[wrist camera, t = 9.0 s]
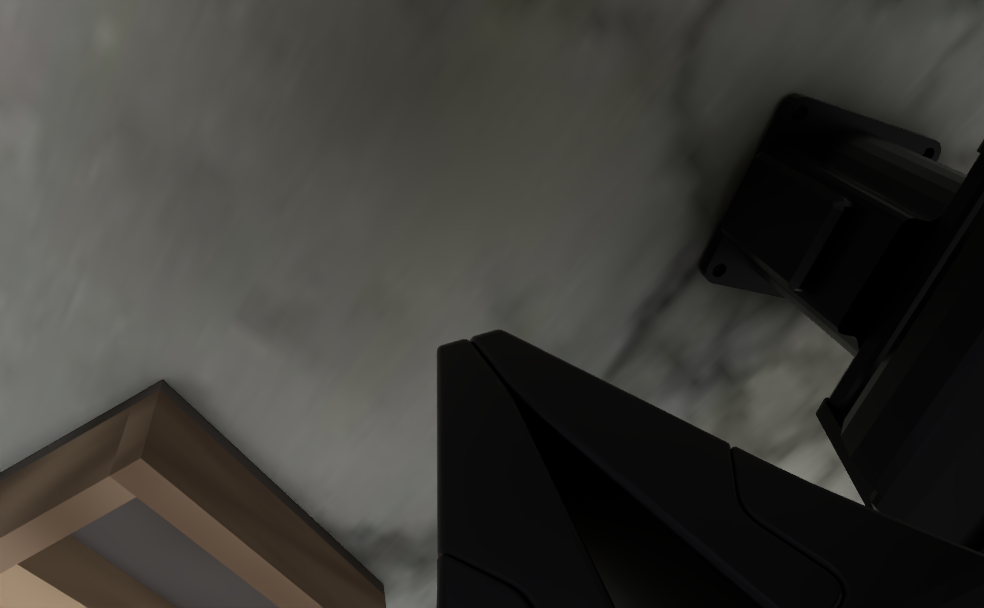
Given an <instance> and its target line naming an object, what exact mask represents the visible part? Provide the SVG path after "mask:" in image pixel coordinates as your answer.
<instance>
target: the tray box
mask: <svg viewBox="0 0 984 608" xmlns="http://www.w3.org/2000/svg"><path fill="white" fill-rule="evenodd" d="M0 608H386V602H385V594H384V585H383V584H382V583H381V582H380V581H379V580H378V579H376V578H375V577H374V576H373V575H372V574H371V573H370V572H369V571H368V570H367V569H366V568H365V567H364V566H362V565H361V564H360V563H359V562H358V561H357V560H356V559H355V558H354V557H353V556H352V555H351V554H350V553H348V552H347V551H346V550H345V549H344V548H343V547H342V546H341V545H340V544H339V543H338V542H337V541H336V540H334V539H333V538H332V537H331V536H330V535H329V534H328V533H327V532H326V531H325V530H324V529H323V528H322V527H320V526H319V525H318V524H317V523H316V522H315V521H314V520H313V519H312V518H311V517H310V516H309V515H308V514H306V513H305V512H304V511H303V510H302V509H301V508H300V507H299V506H298V505H297V504H296V503H295V502H294V501H292V500H291V499H290V498H289V497H288V496H287V495H286V494H285V493H284V492H283V491H282V490H281V489H280V488H278V487H277V486H276V485H275V484H274V483H273V482H272V481H271V480H270V479H269V478H268V477H267V476H266V475H264V474H263V473H262V472H261V471H260V470H259V469H258V468H257V467H256V466H255V465H254V464H253V463H252V462H250V461H249V460H248V459H247V458H246V457H245V456H244V455H243V454H242V453H241V452H240V451H239V450H238V449H236V448H235V447H234V446H233V445H232V444H231V443H230V442H229V441H228V440H227V439H226V438H225V437H224V436H222V435H221V434H220V433H219V432H218V431H217V430H216V429H215V428H214V427H213V426H212V425H211V424H210V423H208V422H207V421H206V420H205V419H204V418H203V417H202V416H201V415H200V414H199V413H198V412H197V411H196V410H194V409H193V408H192V407H191V406H190V405H189V404H188V403H187V402H186V401H185V400H184V399H183V398H182V397H180V396H179V395H178V394H177V393H176V392H175V391H174V390H173V389H172V388H171V387H170V386H169V385H168V384H166V383H165V382H164V381H163V380H162V381H160V382H158V383H156V384H155V385H153V386H151V387H149V388H148V389H146V390H144V391H142V392H141V393H139V394H137V395H135V396H134V397H132V398H130V399H129V400H127V401H125V402H123V403H122V404H120V405H118V406H116V407H115V408H113V409H111V410H109V411H108V412H106V413H104V414H102V415H101V416H99V417H97V418H96V419H94V420H92V421H90V422H89V423H87V424H85V425H83V426H82V427H80V428H78V429H76V430H75V431H73V432H71V433H69V434H68V435H66V436H64V437H62V438H61V439H59V440H57V441H56V442H54V443H52V444H50V445H49V446H47V447H45V448H43V449H42V450H40V451H38V452H36V453H35V454H33V455H31V456H29V457H28V458H26V459H24V460H22V461H21V462H19V463H17V464H16V465H14V466H12V467H10V468H9V469H7V470H5V471H3V472H2V473H0Z"/></svg>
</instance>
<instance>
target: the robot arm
mask: <svg viewBox="0 0 984 608" xmlns="http://www.w3.org/2000/svg"><path fill="white" fill-rule="evenodd" d="M798 106H800V110H799V112H798V114H797V115H796V116H794V117H793V116H792V115H793V112H794V110H795V109H796V107H798ZM924 150H925V152H924V153H923V151H924ZM977 152H979V153H980V155H979V156H978V158H977V160H976V161H975V163H974V165H973V166H972V168H971V169H970V171H969V173H968V174H967V175H966V174H963V173H961V172H959V171H956V170H954V169H952V168H950V167H947V166H945V165H943V164H940V163H938V162H936V161H937V159H938V157H939V155H940V153H941V146H940V143H939V142H937V141H936V140H933V139H931V138H928V137H926V136H923V135H920V134H917V133H914V132H911V131H908V130H905V129H902V128H899V127H896V126H893V125H890V124H888V123H885V122H882V121H879V120H876V119H873V118H870V117H867V116H864V115H861V114H858V113H855V112H852V111H849V110H846V109H843V108H840V107H838V106H835V105H832V104H829V103H826V102H823V101H820V100H817V99H814V98H811V97H808V96H805V95H802V94H792V95H789V96H788V97H787V98H786V99H784V100H783V102H782V103H781V105H780V106H779V108H778V110H777V112H776V114H775V116H774V118H773V120H772V122H771V124H770V126H769V128H768V130H767V132H766V134H765V136H764V138H763V140H762V142H761V144H760V146H759V148H758V150H757V152H756V154H755V156H754V158H753V160H752V162H751V164H750V166H749V168H748V170H747V172H746V174H745V176H744V178H743V180H742V182H741V184H740V186H739V188H738V190H737V192H736V194H735V196H734V198H733V200H732V202H731V204H730V206H729V208H728V210H727V212H726V215H725V217H724V219H723V221H722V223H721V225H720V227H719V229H718V231H717V233H716V235H715V237H714V239H713V241H712V243H711V245H710V247H709V249H708V251H707V253H706V255H705V257H704V259H703V261H702V263H701V266H700V271H701V273H702V275H703V276H704V277H705V278H706V279H707V280H708V281H709V282H711V283H714V284H719V285H724V286H729V287H734V288H739V289H744V290H748V291H753V292H758V293H763V294H768V295H773V296H778V297H783V298H786V299H787V300H789V301H790V302H791V303H792V304H793V305H795V306H796V307H797V308H798V309H799V310H800V311H802V312H803V313H804V314H805V315H806V316H807V317H809V318H810V319H811V320H812V321H813V322H814V323H816V324H817V325H818V326H819V327H820V328H821V329H823V330H824V331H825V332H826V333H827V334H828V335H830V336H831V337H832V338H833V339H834V340H836V341H837V342H838V343H839V344H840V345H841V346H843V347H844V348H845V349H846V350H847V351H848V352H850V353H851V354H852V355H853V356H854V359H853V360H852V362H851V364H850V365H849V367H848V368H847V370H846V372H845V373H844V375H843V376H842V378H841V380H840V381H839V383H838V385H837V386H836V388H835V389H834V391H833V393H832V394H831V396H830V397H829V398H825V399H824V400H823V402H822V404H821V405H820V407H819V409H818V410H817V412H816V416H817V417H818V419H819V421H820V423H821V425H822V427H823V429H824V430H825V432H826V434H827V436H828V438H829V440H830V441H831V443H832V445H833V447H834V449H835V451H836V452H837V454H838V456H839V458H840V460H841V462H842V463H843V465H844V467H845V469H846V471H847V473H848V475H849V476H850V478H851V480H852V482H853V484H854V486H855V487H856V489H857V491H858V493H859V495H860V497H861V498H862V500H863V502H864V504H865V506H864V505H862V504H859V503H857V502H855V501H852V500H850V499H847V498H845V497H843V496H840V495H838V494H836V493H833V492H831V491H829V490H826V489H824V488H822V487H819V486H817V485H815V484H812V483H810V482H808V481H806V480H804V479H802V478H799V477H797V476H795V475H793V474H791V473H789V472H787V471H785V470H783V469H780V468H778V467H776V466H774V465H772V464H770V463H768V462H766V461H764V460H762V459H760V458H758V457H756V456H754V455H752V454H750V453H748V452H746V451H744V450H742V449H740V448H738V447H732V448H731V449H730V445H729V443H727V442H725V441H723V440H721V439H719V438H717V437H715V436H713V435H711V434H709V433H707V432H705V431H703V430H701V429H699V428H697V427H695V426H693V425H691V424H689V423H687V422H685V421H683V420H681V419H679V418H677V417H675V416H673V415H671V414H669V413H667V412H665V411H663V410H661V409H659V408H657V407H655V406H653V405H651V404H649V403H647V402H645V401H643V400H641V399H639V398H637V397H635V396H633V395H631V394H629V393H627V392H625V391H623V390H621V389H619V388H617V387H615V386H613V385H611V384H609V383H607V382H605V381H603V380H601V379H599V378H597V377H595V376H593V375H591V374H589V373H587V372H585V371H583V370H581V369H579V368H577V367H575V366H573V365H571V364H569V363H567V362H565V361H563V360H561V359H560V358H558V357H556V356H554V355H552V354H550V353H548V352H546V351H544V350H542V349H540V348H538V347H536V346H534V345H532V344H530V343H528V342H526V341H524V340H522V339H520V338H518V337H516V336H514V335H512V334H510V333H508V332H506V331H503V330H494V331H490V332H487V333H483V334H480V335H476V336H473V337H472V338H471V340H470V341H469V340H467V339H462V340H458V341H455V342H451V343H448V344H444V345H441V346H439V347H438V349H437V527H438V559H437V608H984V140H983V142H982V143H981V145H980V147H979V148H978V150H977ZM922 153H923V155H921V154H922ZM718 264H720V267H719V268H718V269H717V270H715V271H713V269H714V268H715V266H717V265H718Z"/></svg>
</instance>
